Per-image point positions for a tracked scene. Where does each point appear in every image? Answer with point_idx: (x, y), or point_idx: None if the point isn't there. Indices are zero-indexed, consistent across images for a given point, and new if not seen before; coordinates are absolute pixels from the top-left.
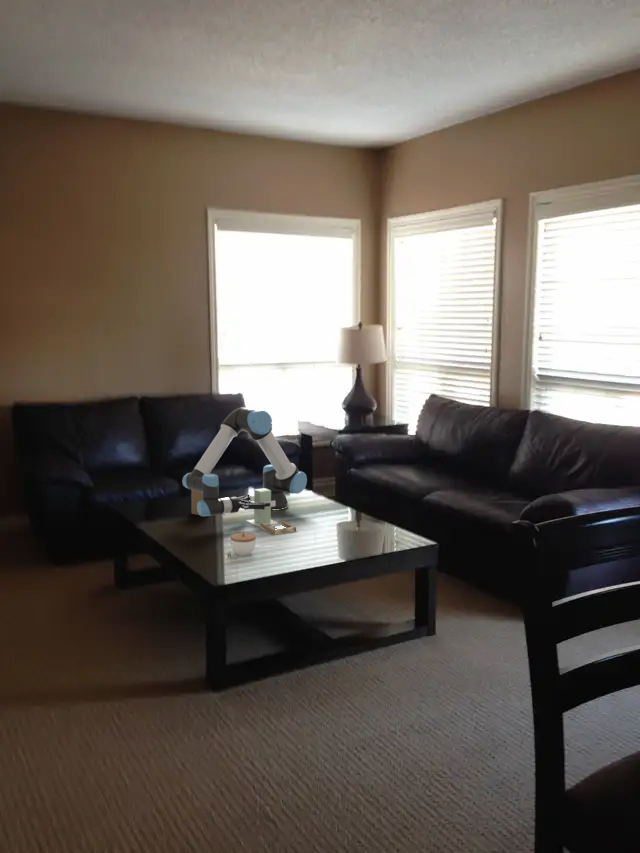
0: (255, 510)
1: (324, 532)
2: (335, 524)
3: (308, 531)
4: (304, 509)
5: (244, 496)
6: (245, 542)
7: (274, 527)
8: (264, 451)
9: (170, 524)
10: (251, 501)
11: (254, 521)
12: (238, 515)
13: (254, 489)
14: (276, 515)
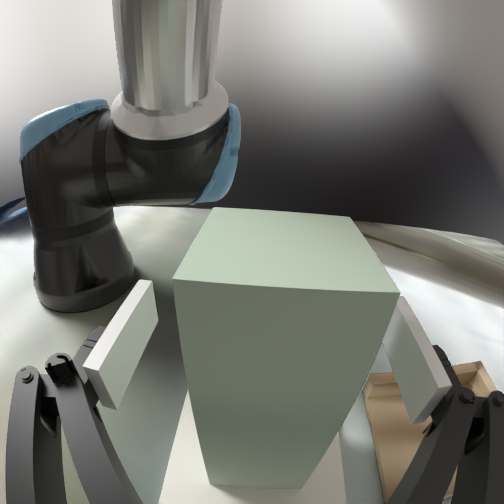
0: (229, 456)
1: (462, 312)
2: None
3: (455, 341)
4: (184, 249)
5: (34, 407)
6: None
7: (407, 438)
8: None
9: None
10: (119, 401)
11: (221, 487)
12: None
13: (173, 280)
14: (174, 330)
